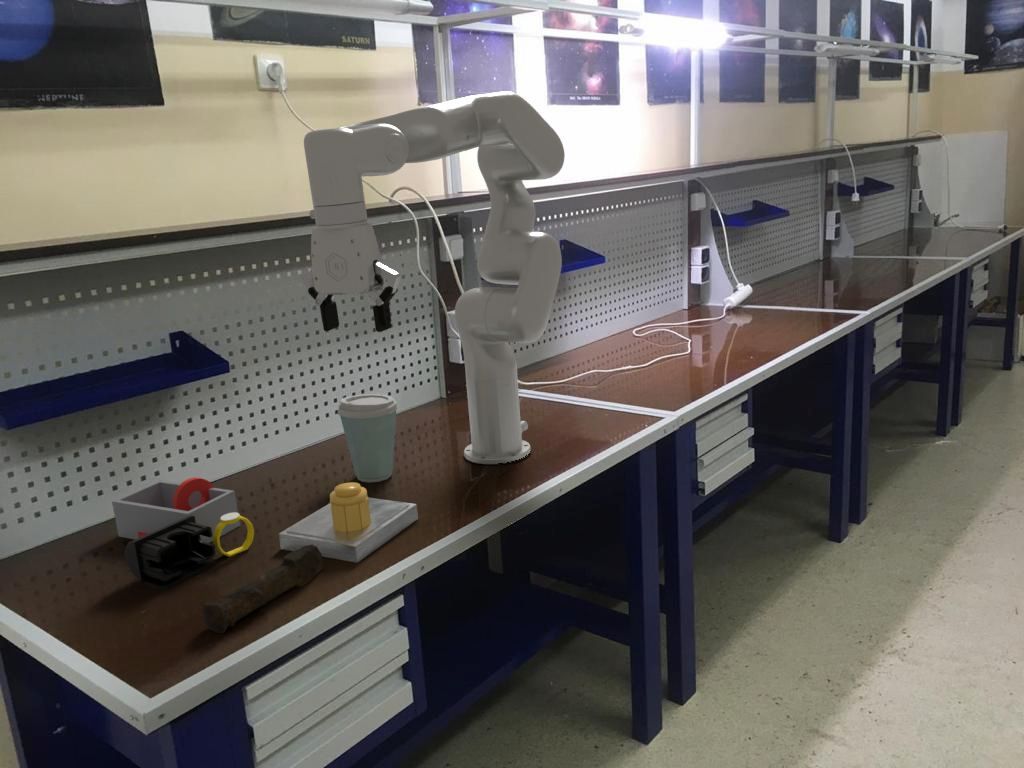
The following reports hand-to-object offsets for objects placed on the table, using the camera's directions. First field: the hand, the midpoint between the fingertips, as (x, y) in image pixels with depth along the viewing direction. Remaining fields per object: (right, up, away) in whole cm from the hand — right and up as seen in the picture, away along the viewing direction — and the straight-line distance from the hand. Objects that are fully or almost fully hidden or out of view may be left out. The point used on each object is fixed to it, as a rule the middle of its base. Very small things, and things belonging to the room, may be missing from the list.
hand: (357, 329), depth 132 cm
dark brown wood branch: (-9, -37, -18) cm, 42 cm away
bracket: (-30, -32, +6) cm, 44 cm away
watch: (-18, -34, -3) cm, 38 cm away
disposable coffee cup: (-1, -25, +25) cm, 35 cm away
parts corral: (-30, -32, +6) cm, 44 cm away
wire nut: (0, -29, -3) cm, 29 cm away
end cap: (-25, -36, -8) cm, 44 cm away
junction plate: (-1, -31, +1) cm, 31 cm away
